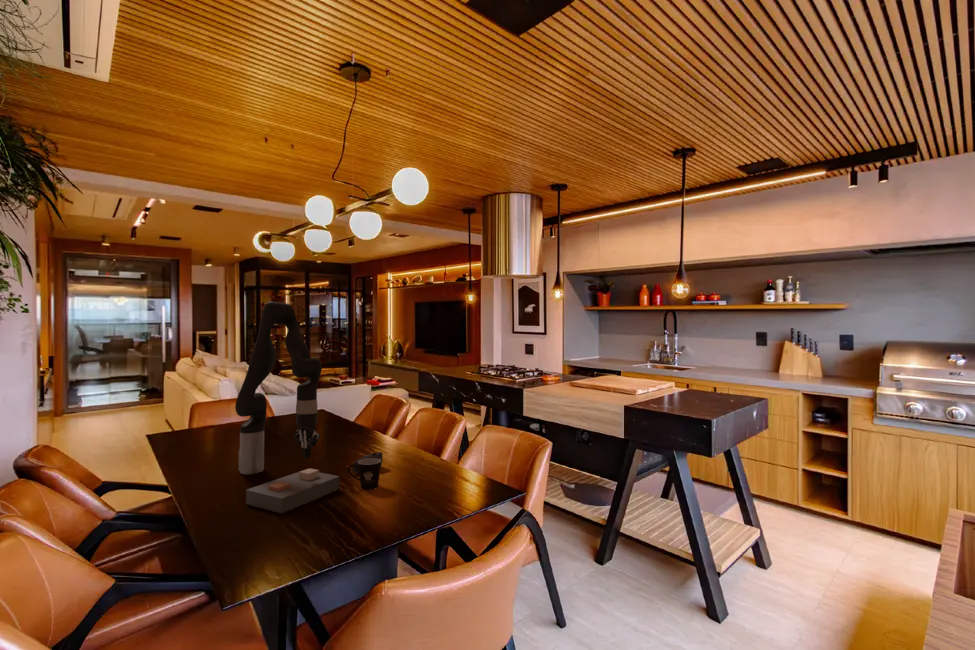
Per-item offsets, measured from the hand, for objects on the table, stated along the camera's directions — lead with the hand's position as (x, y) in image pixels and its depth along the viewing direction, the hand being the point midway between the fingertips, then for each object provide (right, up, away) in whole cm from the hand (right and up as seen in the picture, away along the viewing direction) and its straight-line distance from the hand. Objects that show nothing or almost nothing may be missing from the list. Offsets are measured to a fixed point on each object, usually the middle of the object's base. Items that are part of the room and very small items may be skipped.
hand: (306, 457), depth 177 cm
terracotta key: (-5, -11, -11) cm, 16 cm away
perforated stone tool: (+17, -13, +26) cm, 33 cm away
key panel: (-2, -13, -5) cm, 14 cm away
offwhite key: (+1, -9, +1) cm, 9 cm away
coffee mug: (+21, -13, +5) cm, 25 cm away
